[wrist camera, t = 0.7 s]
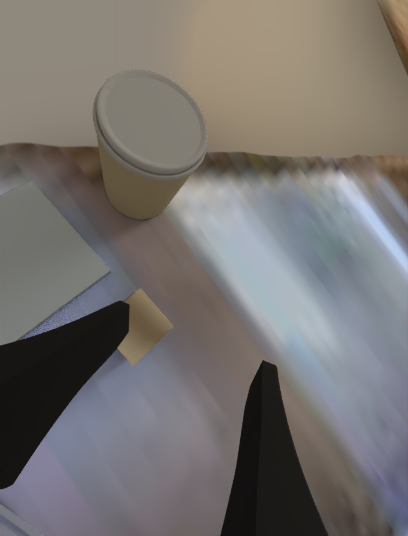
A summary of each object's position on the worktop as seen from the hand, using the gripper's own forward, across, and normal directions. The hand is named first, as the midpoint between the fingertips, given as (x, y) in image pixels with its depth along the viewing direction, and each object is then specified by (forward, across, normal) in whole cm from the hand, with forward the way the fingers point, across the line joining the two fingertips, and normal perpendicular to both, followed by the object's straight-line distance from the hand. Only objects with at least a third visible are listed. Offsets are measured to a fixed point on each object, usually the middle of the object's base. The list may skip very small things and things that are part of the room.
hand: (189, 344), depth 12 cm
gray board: (+4, +21, +6) cm, 22 cm away
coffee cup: (+18, +15, -1) cm, 24 cm away
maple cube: (+8, +9, +11) cm, 16 cm away
